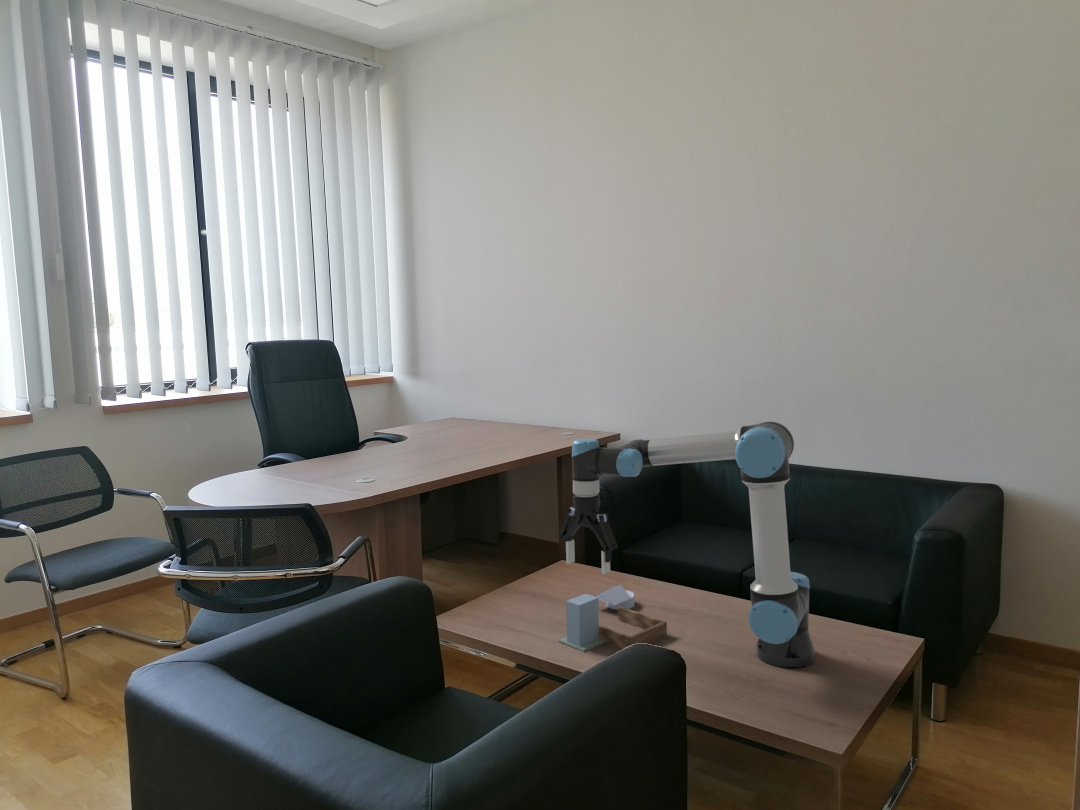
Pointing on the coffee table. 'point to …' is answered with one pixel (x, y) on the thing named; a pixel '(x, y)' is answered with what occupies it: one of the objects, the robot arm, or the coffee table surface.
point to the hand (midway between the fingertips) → (587, 567)
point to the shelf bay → (650, 624)
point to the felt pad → (583, 647)
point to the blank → (582, 619)
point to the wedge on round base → (617, 598)
